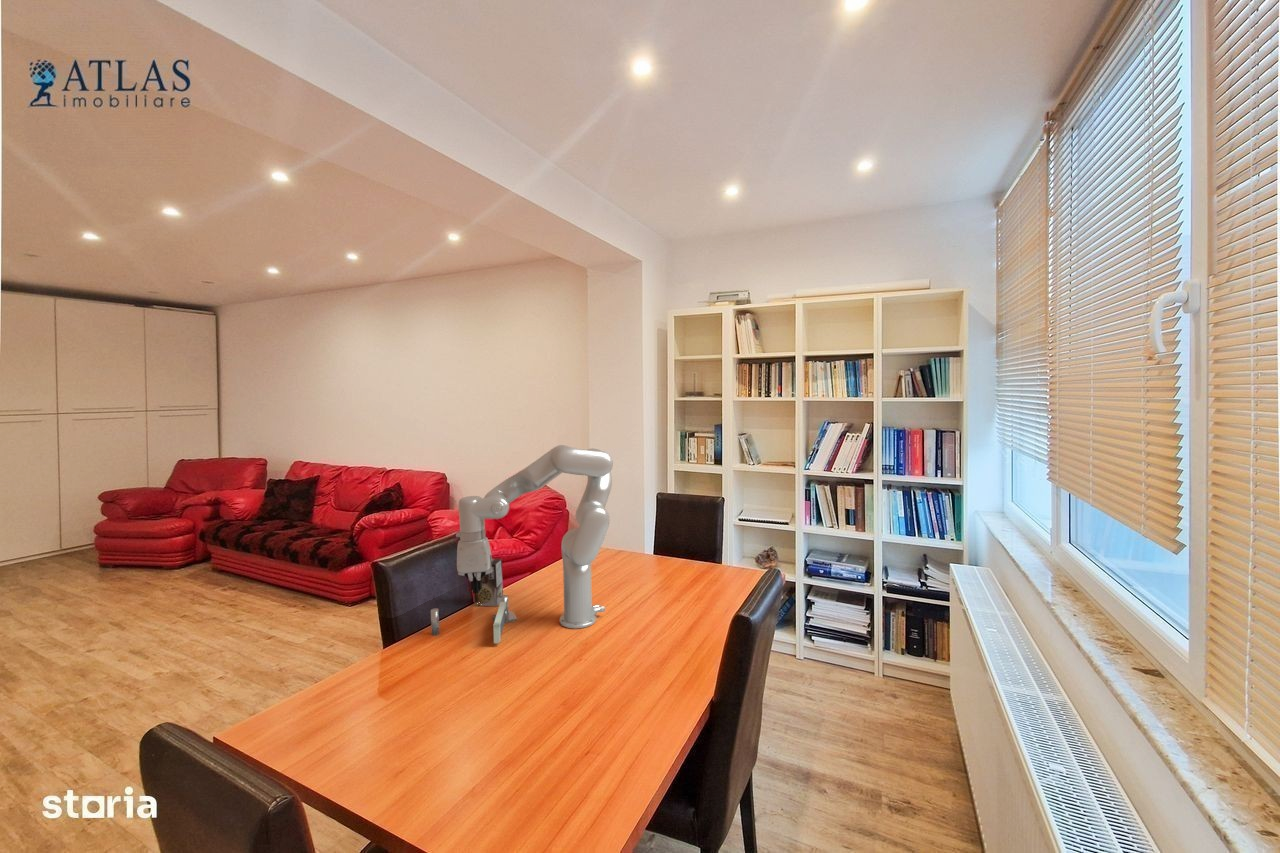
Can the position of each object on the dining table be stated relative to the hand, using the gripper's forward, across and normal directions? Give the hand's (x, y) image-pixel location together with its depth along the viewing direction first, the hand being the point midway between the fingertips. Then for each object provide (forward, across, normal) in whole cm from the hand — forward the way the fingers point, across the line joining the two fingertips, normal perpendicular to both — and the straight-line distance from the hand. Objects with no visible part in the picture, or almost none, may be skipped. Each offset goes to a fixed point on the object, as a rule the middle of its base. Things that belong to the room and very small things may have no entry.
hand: (476, 591), depth 160 cm
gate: (+14, +6, +3) cm, 16 cm away
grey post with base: (+16, +5, +14) cm, 21 cm away
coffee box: (+16, -4, +28) cm, 32 cm away
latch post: (+15, -16, +4) cm, 22 cm away
